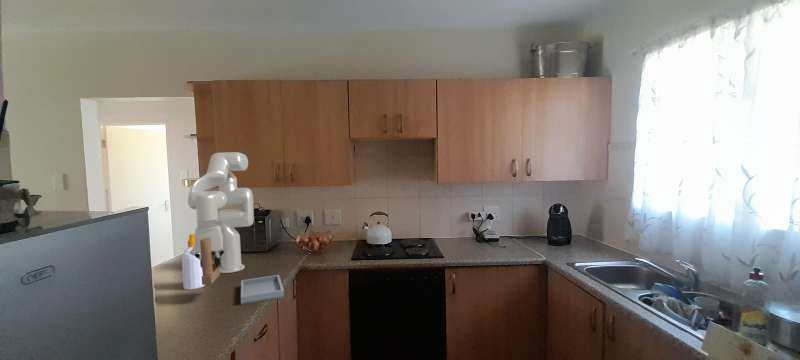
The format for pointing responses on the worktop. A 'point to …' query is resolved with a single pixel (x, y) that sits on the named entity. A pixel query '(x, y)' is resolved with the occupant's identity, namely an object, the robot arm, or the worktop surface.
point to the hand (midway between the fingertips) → (210, 267)
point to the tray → (261, 289)
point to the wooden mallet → (208, 263)
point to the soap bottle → (191, 267)
